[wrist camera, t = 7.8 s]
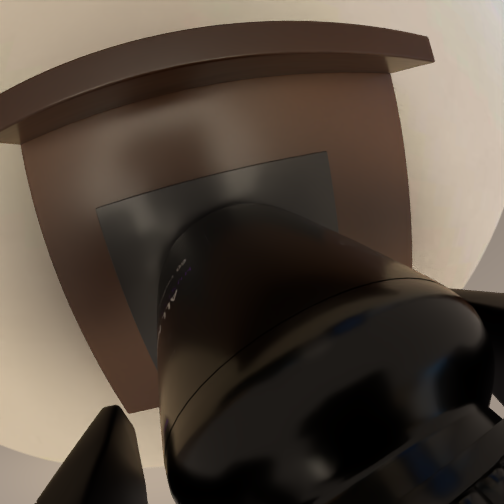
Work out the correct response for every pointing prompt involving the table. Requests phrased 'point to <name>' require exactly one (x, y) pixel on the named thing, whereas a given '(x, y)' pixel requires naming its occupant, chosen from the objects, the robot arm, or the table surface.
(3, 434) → the table surface
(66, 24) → the table surface
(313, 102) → the shelf
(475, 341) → the supplement bottle
